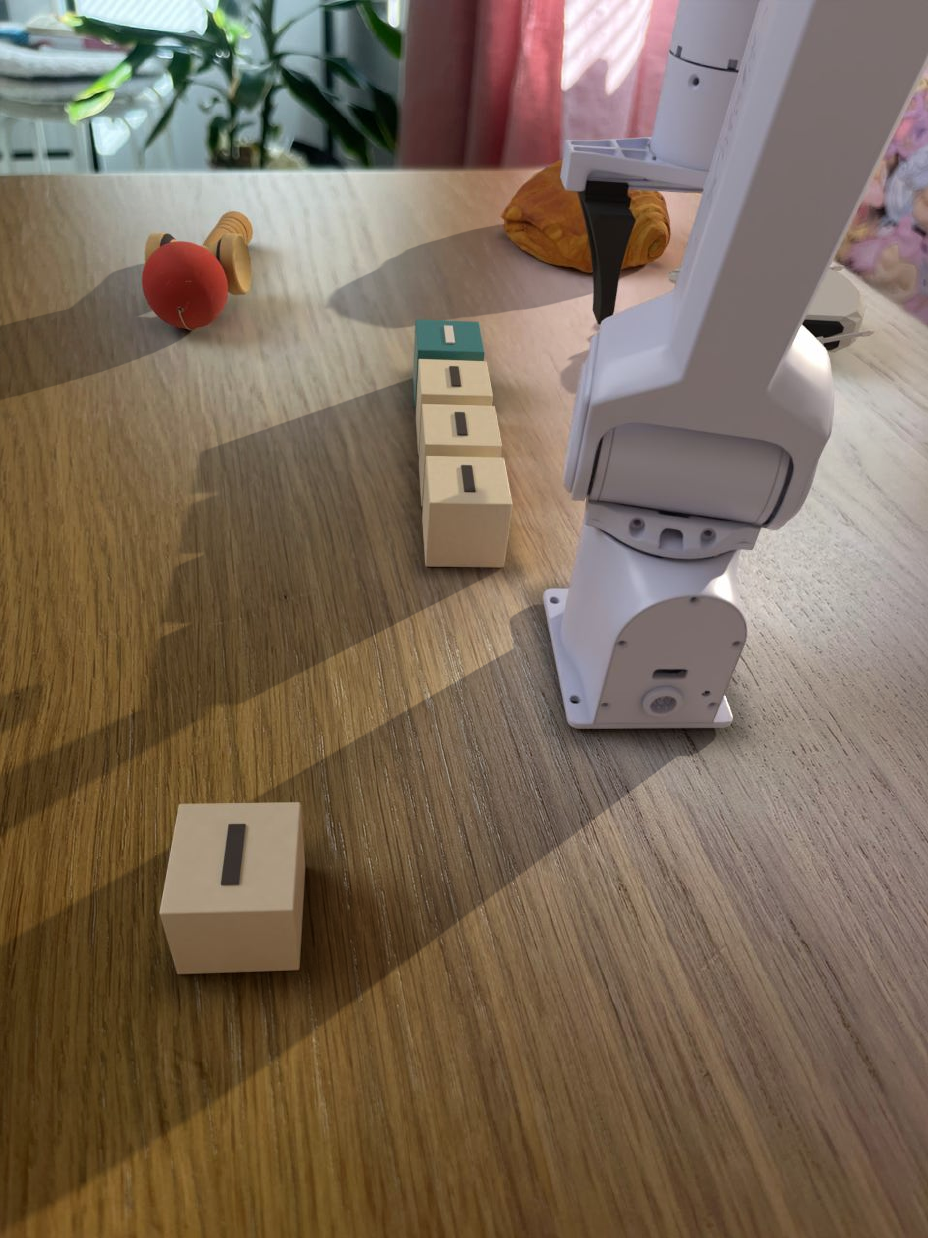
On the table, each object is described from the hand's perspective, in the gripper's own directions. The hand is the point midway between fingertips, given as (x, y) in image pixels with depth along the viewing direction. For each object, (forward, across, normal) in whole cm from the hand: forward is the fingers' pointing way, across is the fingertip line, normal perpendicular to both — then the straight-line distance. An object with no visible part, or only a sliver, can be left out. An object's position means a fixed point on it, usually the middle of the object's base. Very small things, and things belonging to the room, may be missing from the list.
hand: (664, 319), depth 55 cm
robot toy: (+10, -14, -18) cm, 25 cm away
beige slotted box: (+9, +22, +32) cm, 40 cm away
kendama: (+10, +30, -22) cm, 38 cm away
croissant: (+10, -2, -35) cm, 36 cm away
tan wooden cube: (+9, +12, +4) cm, 16 cm away
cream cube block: (+9, +12, -2) cm, 15 cm away
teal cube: (+9, +12, -7) cm, 17 cm away
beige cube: (+9, +12, +10) cm, 18 cm away
